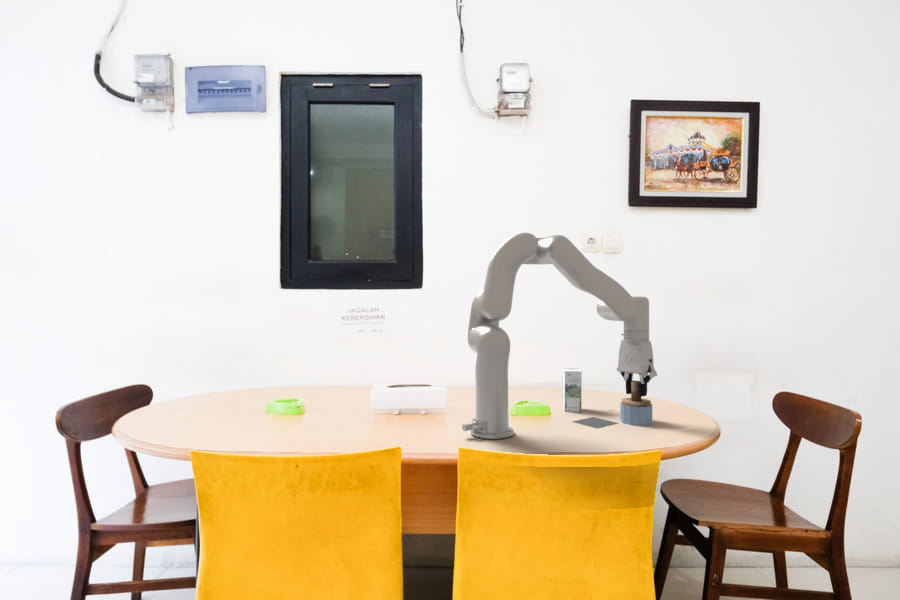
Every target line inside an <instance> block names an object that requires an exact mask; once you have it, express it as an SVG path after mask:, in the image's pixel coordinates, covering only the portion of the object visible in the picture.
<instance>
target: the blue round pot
mask: <svg viewBox="0 0 900 600" xmlns="http://www.w3.org/2000/svg"><path fill="white" fill-rule="evenodd" d="M620 422H621V423H623V424H625V425H629V426H638V427H642V426H643V427H644V426H651V425H653V403H651V406H647V407H633V406H627V405H624V404H622V401H620Z"/></svg>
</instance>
